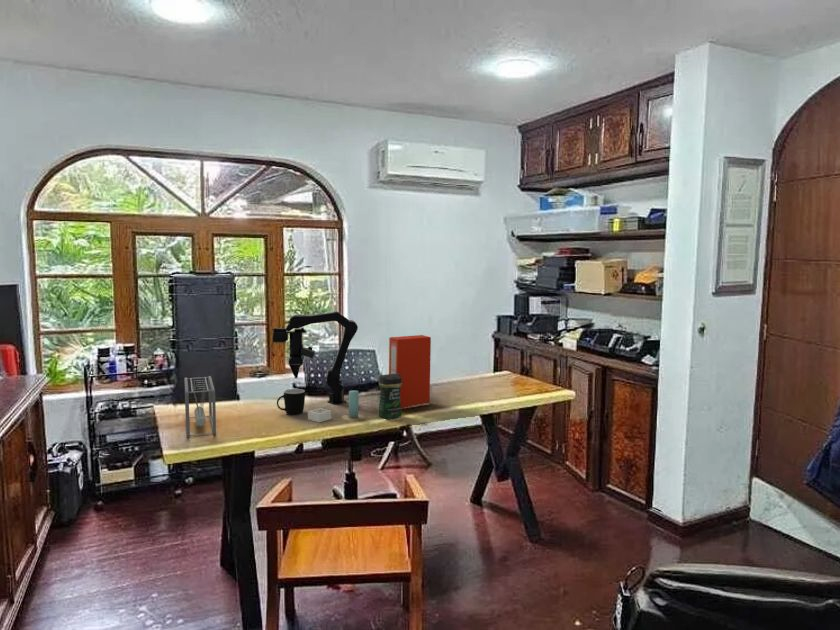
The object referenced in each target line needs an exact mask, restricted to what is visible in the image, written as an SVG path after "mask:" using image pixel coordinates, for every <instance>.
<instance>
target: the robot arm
mask: <svg viewBox="0 0 840 630" xmlns="http://www.w3.org/2000/svg"><path fill="white" fill-rule="evenodd" d="M334 321H335V322H336V323H338V324H339V325H341V327H343V332H342V339H341V342H340V344H339V348H338V351H337V353H336V357H335V359H334V361H333V365H332V367H331V368H327V372H326V374H325V376H324V377H325V382H326V385H327V386H328V387H329V388H330V389H329V394H328V400H327V403H330V404H334V405H339V404H343V402H344V403H347V400H345V389H344V383H343V381H341V379H340V378H341V370H342V367H343V364H344V360H345V358H346V355H347V352H348V351H349V346H350V343H351V341H352V340H353V338H354V337H355V336H356V333H357V332H358V329H359V327H358V324H357V323H356V321H354V320H353V319H348V318H347V317H345V316H344V315H343V314H341V313H340V311H337V310H336V311H332V312H325V313H319V314H311V315H310V314H308V315H306V314H293V315H291V316H290V318H289V323H288V324H287V325H286V327H285V328H284V327H283V328H278V327H273V328H272V331H273V332H272V343H273V344H283V343H284V344H286V342H287V341H289V358H288V365H289V368H290V371H291V373H292V375H293V377H294V379H298V377H299V372H300V368H301V367H302V366H303V364H304V357H306V358H309V359H314V357H315V356H314V355H315V353H316V351H315V350H313V347H312V346H311V345H309V346H308V347H304V344H303V334H306V333H307V330H306V329H305V328H304V327H305V326H308V325H312V324H319V323H327V322H334Z"/></svg>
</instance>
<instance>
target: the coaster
mask: <svg viewBox="0 0 840 630" xmlns="http://www.w3.org/2000/svg"><path fill="white" fill-rule="evenodd" d="M341 419H343V420H344V421H348V422H349V421H351V422H354V421H355V422H356V421H361V420H365V419H366V415H364V414H360V413H358V418H349V413H347V414H344V415H342V416H341Z"/></svg>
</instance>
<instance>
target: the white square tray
mask: <svg viewBox="0 0 840 630" xmlns="http://www.w3.org/2000/svg"><path fill="white" fill-rule="evenodd" d="M307 420H309V421H313V422H316V423H322V422H326V421H329V420H332V410H330V409H326V408H322V407H317V408H314V409H310V410H307Z"/></svg>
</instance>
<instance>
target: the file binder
mask: <svg viewBox="0 0 840 630" xmlns="http://www.w3.org/2000/svg"><path fill="white" fill-rule="evenodd" d="M388 339H389V342H388V343H389V345H388V346H389V347H388V350H389V351H388V374H399V375H401V378H402V385H401V388H400V400H401V408H404V407H408V406H412V405H417V404H423V403H429V402H430V401H431V399H430V398H431V397H430V396H431V391H430V390H431V352H432V350H431V349H432V348H431V347H432V346H431V344H432V341H431V336H427V335H423V334H418V335H407V336H406V335H404V336H391V337H389V338H388Z"/></svg>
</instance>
